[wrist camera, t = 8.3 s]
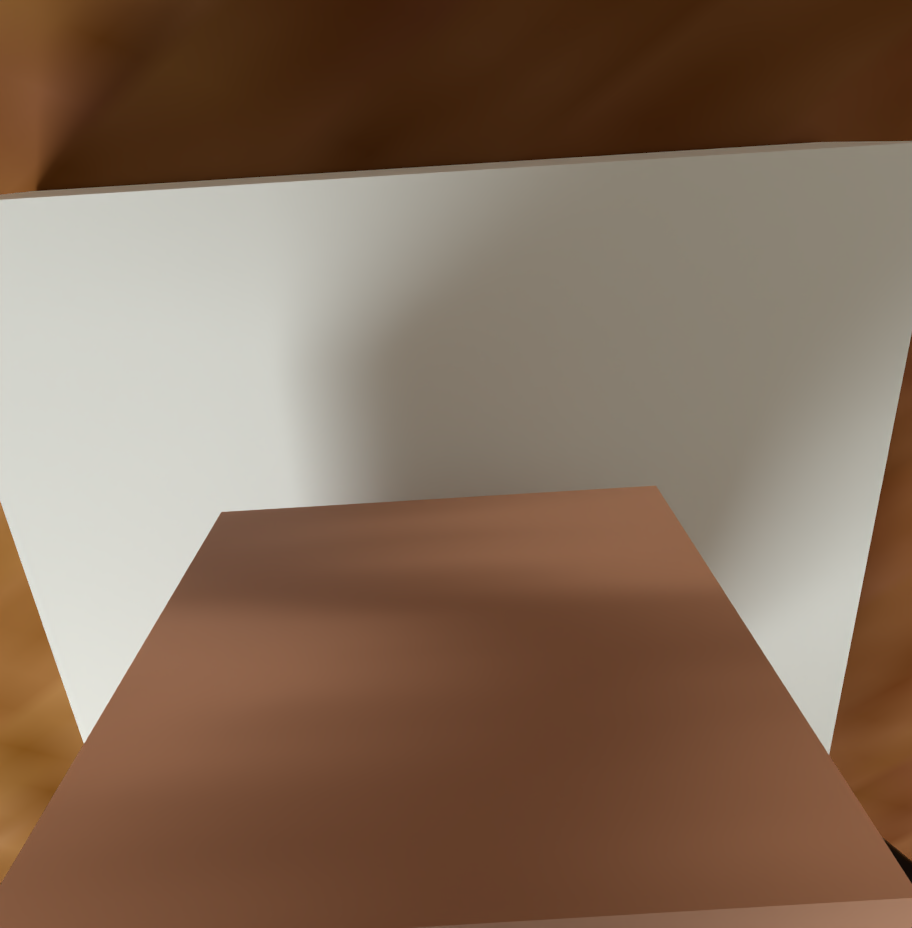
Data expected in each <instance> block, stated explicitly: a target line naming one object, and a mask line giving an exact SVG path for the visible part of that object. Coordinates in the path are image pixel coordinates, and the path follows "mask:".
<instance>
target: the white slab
mask: <svg viewBox="0 0 912 928" xmlns="http://www.w3.org/2000/svg"><path fill="white" fill-rule="evenodd" d="M911 334H912V141H864V142H813V143H797V144H781V145H765V146H749V147H733V148H717V149H701V150H685V151H669V152H653V153H637V154H621V155H605V156H589V157H573V158H557V159H541V160H525V161H509V162H493V163H477V164H461V165H445V166H429V167H413V168H397V169H381V170H365V171H349V172H333V173H317V174H301V175H285V176H269V177H252V178H236V179H220V180H204V181H188V182H172V183H156V184H140V185H124V186H108V187H92V188H76V189H60V190H44V191H30V192H21V193H12V194H3V195H0V501H1V504H2V507H3V510H4V513H5V516H6V519H7V522H8V524H9V527H10V530H11V533H12V536H13V539H14V542H15V545H16V548H17V551H18V554H19V556H20V559H21V562H22V565H23V568H24V571H25V574H26V577H27V580H28V583H29V585H30V588H31V591H32V594H33V597H34V600H35V603H36V606H37V609H38V612H39V615H40V617H41V620H42V623H43V626H44V629H45V632H46V635H47V638H48V641H49V644H50V647H51V649H52V652H53V655H54V658H55V661H56V664H57V667H58V670H59V673H60V676H61V679H62V681H63V684H64V687H65V690H66V693H67V696H68V699H69V702H70V705H71V708H72V710H73V713H74V716H75V719H76V722H77V725H78V728H79V731H80V734H81V737H82V740H83V742H84V743H85V741H86V740H87V738H88V736H89V734H90V733H91V731H92V729H93V728H94V726H95V724H96V723H97V721H98V719H99V718H100V716H101V714H102V713H103V711H104V709H105V707H106V706H107V704H108V702H109V701H110V699H111V697H112V696H113V694H114V692H115V691H116V689H117V687H118V686H119V684H120V682H121V680H122V679H123V677H124V675H125V674H126V672H127V670H128V669H129V667H130V665H131V664H132V662H133V660H134V659H135V657H136V655H137V653H138V652H139V650H140V648H141V647H142V645H143V643H144V642H145V640H146V638H147V637H148V635H149V633H150V632H151V630H152V628H153V626H154V625H155V623H156V621H157V620H158V618H159V616H160V615H161V613H162V611H163V610H164V608H165V606H166V605H167V603H168V601H169V599H170V598H171V596H172V594H173V593H174V591H175V589H176V588H177V586H178V584H179V583H180V581H181V579H182V577H183V576H184V574H185V572H186V571H187V569H188V567H189V566H190V564H191V562H192V561H193V559H194V557H195V556H196V554H197V552H198V550H199V549H200V547H201V545H202V544H203V542H204V540H205V539H206V537H207V535H208V534H209V532H210V530H211V529H212V527H213V525H214V523H215V522H216V520H217V518H218V517H219V515H220V513H221V512H229V511H245V510H262V509H278V508H295V507H311V506H327V505H344V504H360V503H377V502H393V501H410V500H426V499H443V498H459V497H476V496H492V495H509V494H525V493H542V492H558V491H575V490H591V489H608V488H624V487H641V486H657V488H658V489H659V491H660V493H661V494H662V496H663V497H664V499H665V500H666V502H667V503H668V505H669V507H670V508H671V510H672V511H673V513H674V514H675V516H676V517H677V519H678V521H679V522H680V524H681V525H682V527H683V528H684V530H685V531H686V533H687V535H688V536H689V538H690V539H691V541H692V542H693V544H694V546H695V547H696V549H697V550H698V552H699V553H700V555H701V556H702V558H703V560H704V561H705V563H706V564H707V566H708V567H709V569H710V570H711V572H712V574H713V575H714V577H715V578H716V580H717V581H718V583H719V584H720V586H721V588H722V589H723V591H724V592H725V594H726V595H727V597H728V598H729V600H730V602H731V603H732V605H733V606H734V608H735V609H736V611H737V612H738V614H739V616H740V617H741V619H742V620H743V622H744V623H745V625H746V626H747V628H748V630H749V631H750V633H751V634H752V636H753V637H754V639H755V640H756V642H757V644H758V645H759V647H760V648H761V650H762V651H763V653H764V655H765V656H766V658H767V659H768V661H769V662H770V664H771V665H772V667H773V669H774V670H775V672H776V673H777V675H778V676H779V678H780V679H781V681H782V683H783V684H784V686H785V687H786V689H787V690H788V692H789V693H790V695H791V697H792V698H793V700H794V701H795V703H796V704H797V706H798V707H799V709H800V711H801V712H802V714H803V715H804V717H805V718H806V720H807V721H808V723H809V725H810V726H811V728H812V729H813V731H814V732H815V734H816V735H817V737H818V739H819V740H820V742H821V743H822V745H823V746H824V748H825V749H826V751H827V753H828V754H829V752H830V747H831V742H832V737H833V732H834V726H835V721H836V716H837V711H838V706H839V701H840V696H841V691H842V686H843V681H844V675H845V670H846V665H847V660H848V655H849V650H850V645H851V640H852V635H853V630H854V624H855V619H856V614H857V609H858V604H859V599H860V594H861V589H862V584H863V579H864V573H865V568H866V563H867V558H868V553H869V548H870V543H871V538H872V533H873V528H874V522H875V517H876V512H877V507H878V502H879V497H880V492H881V487H882V482H883V476H884V471H885V466H886V461H887V456H888V451H889V446H890V441H891V436H892V431H893V425H894V420H895V415H896V410H897V405H898V400H899V395H900V390H901V385H902V380H903V374H904V369H905V364H906V359H907V354H908V349H909V344H910V339H911Z"/></svg>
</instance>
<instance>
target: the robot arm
mask: <svg viewBox="0 0 912 928" xmlns="http://www.w3.org/2000/svg"><path fill="white" fill-rule="evenodd" d="M882 838H883V837H882ZM883 840H884V841H885V843H886V844H887V846H888V848H889V849H890V851H891V852H892V854H893V855H894V857H895V858H896V860H897V862H898V863H899V865H900V866H901V868H902V869H903V871H904V872H905V874H906V876H907V877H908V879H909V880H910V882H911V883H912V861H911V860H910V859H908V858H907V857H906V856H905V855H903V854H902V853H901V852H900V851H899V850H897V849H896V848H895V847H894V846H892V845H891V844H890V843H889V842H887V841H886V840H885V839H884V838H883Z"/></svg>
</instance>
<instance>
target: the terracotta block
mask: <svg viewBox="0 0 912 928" xmlns="http://www.w3.org/2000/svg"><path fill="white" fill-rule="evenodd" d="M0 928H912V883H911V882H910V880H909V879H908V877H907V876H906V874H905V872H904V871H903V869H902V868H901V866H900V865H899V863H898V862H897V860H896V858H895V857H894V855H893V854H892V852H891V851H890V849H889V848H888V846H887V844H886V843H885V841H884V840H883V838H882V837H881V835H880V834H879V832H878V830H877V829H876V827H875V826H874V824H873V823H872V821H871V820H870V818H869V816H868V815H867V813H866V812H865V810H864V809H863V807H862V806H861V804H860V802H859V801H858V799H857V798H856V796H855V795H854V793H853V792H852V790H851V788H850V787H849V785H848V784H847V782H846V781H845V779H844V778H843V776H842V774H841V773H840V771H839V770H838V768H837V767H836V765H835V764H834V762H833V760H832V759H831V757H830V756H829V754H828V753H827V751H826V749H825V748H824V746H823V745H822V743H821V742H820V740H819V739H818V737H817V735H816V734H815V732H814V731H813V729H812V728H811V726H810V725H809V723H808V721H807V720H806V718H805V717H804V715H803V714H802V712H801V711H800V709H799V707H798V706H797V704H796V703H795V701H794V700H793V698H792V697H791V695H790V693H789V692H788V690H787V689H786V687H785V686H784V684H783V683H782V681H781V679H780V678H779V676H778V675H777V673H776V672H775V670H774V669H773V667H772V665H771V664H770V662H769V661H768V659H767V658H766V656H765V655H764V653H763V651H762V650H761V648H760V647H759V645H758V644H757V642H756V640H755V639H754V637H753V636H752V634H751V633H750V631H749V630H748V628H747V626H746V625H745V623H744V622H743V620H742V619H741V617H740V616H739V614H738V612H737V611H736V609H735V608H734V606H733V605H732V603H731V602H730V600H729V598H728V597H727V595H726V594H725V592H724V591H723V589H722V588H721V586H720V584H719V583H718V581H717V580H716V578H715V577H714V575H713V574H712V572H711V570H710V569H709V567H708V566H707V564H706V563H705V561H704V560H703V558H702V556H701V555H700V553H699V552H698V550H697V549H696V547H695V546H694V544H693V542H692V541H691V539H690V538H689V536H688V535H687V533H686V531H685V530H684V528H683V527H682V525H681V524H680V522H679V521H678V519H677V517H676V516H675V514H674V513H673V511H672V510H671V508H670V507H669V505H668V503H667V502H666V500H665V499H664V497H663V496H662V494H661V493H660V491H659V489H658V488H657V486H641V487H624V488H608V489H591V490H575V491H558V492H542V493H525V494H509V495H492V496H476V497H459V498H443V499H426V500H410V501H393V502H377V503H360V504H344V505H327V506H311V507H295V508H278V509H262V510H245V511H229V512H221V513H220V515H219V517H218V518H217V520H216V522H215V523H214V525H213V527H212V529H211V530H210V532H209V534H208V535H207V537H206V539H205V540H204V542H203V544H202V545H201V547H200V549H199V550H198V552H197V554H196V556H195V557H194V559H193V561H192V562H191V564H190V566H189V567H188V569H187V571H186V572H185V574H184V576H183V577H182V579H181V581H180V583H179V584H178V586H177V588H176V589H175V591H174V593H173V594H172V596H171V598H170V599H169V601H168V603H167V605H166V606H165V608H164V610H163V611H162V613H161V615H160V616H159V618H158V620H157V621H156V623H155V625H154V626H153V628H152V630H151V632H150V633H149V635H148V637H147V638H146V640H145V642H144V643H143V645H142V647H141V648H140V650H139V652H138V653H137V655H136V657H135V659H134V660H133V662H132V664H131V665H130V667H129V669H128V670H127V672H126V674H125V675H124V677H123V679H122V680H121V682H120V684H119V686H118V687H117V689H116V691H115V692H114V694H113V696H112V697H111V699H110V701H109V702H108V704H107V706H106V707H105V709H104V711H103V713H102V714H101V716H100V718H99V719H98V721H97V723H96V724H95V726H94V728H93V729H92V731H91V733H90V734H89V736H88V738H87V740H86V741H85V743H84V745H83V746H82V748H81V750H80V751H79V753H78V755H77V756H76V758H75V760H74V762H73V763H72V765H71V767H70V768H69V770H68V772H67V773H66V775H65V777H64V778H63V780H62V782H61V783H60V785H59V787H58V789H57V790H56V792H55V794H54V795H53V797H52V799H51V800H50V802H49V804H48V805H47V807H46V809H45V810H44V812H43V814H42V816H41V817H40V819H39V821H38V822H37V824H36V826H35V827H34V829H33V831H32V832H31V834H30V836H29V837H28V839H27V841H26V843H25V844H24V846H23V848H22V849H21V851H20V853H19V854H18V856H17V858H16V859H15V861H14V863H13V864H12V866H11V868H10V870H9V871H8V873H7V875H6V876H5V878H4V880H3V881H2V883H1V885H0Z"/></svg>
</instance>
